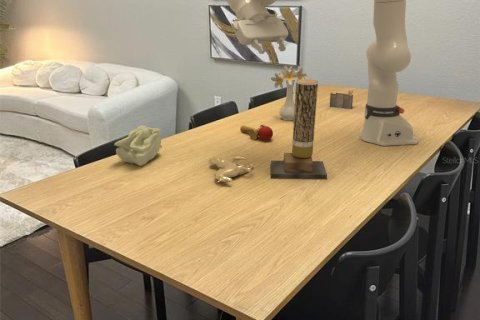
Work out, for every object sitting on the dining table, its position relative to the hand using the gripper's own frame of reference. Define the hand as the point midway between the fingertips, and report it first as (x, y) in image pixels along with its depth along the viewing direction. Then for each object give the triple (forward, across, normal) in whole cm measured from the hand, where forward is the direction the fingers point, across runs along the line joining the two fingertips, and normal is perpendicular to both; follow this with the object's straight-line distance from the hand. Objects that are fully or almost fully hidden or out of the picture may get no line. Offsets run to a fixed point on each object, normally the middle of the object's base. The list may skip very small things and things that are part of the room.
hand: (273, 51), depth 134 cm
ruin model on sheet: (+6, +82, +48) cm, 96 cm away
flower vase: (+4, +46, +50) cm, 68 cm away
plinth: (+36, 0, +18) cm, 40 cm away
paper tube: (+32, +2, +15) cm, 36 cm away
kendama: (+10, +16, +45) cm, 48 cm away
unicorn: (+25, -10, +27) cm, 38 cm away
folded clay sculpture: (+5, -33, +50) cm, 60 cm away
